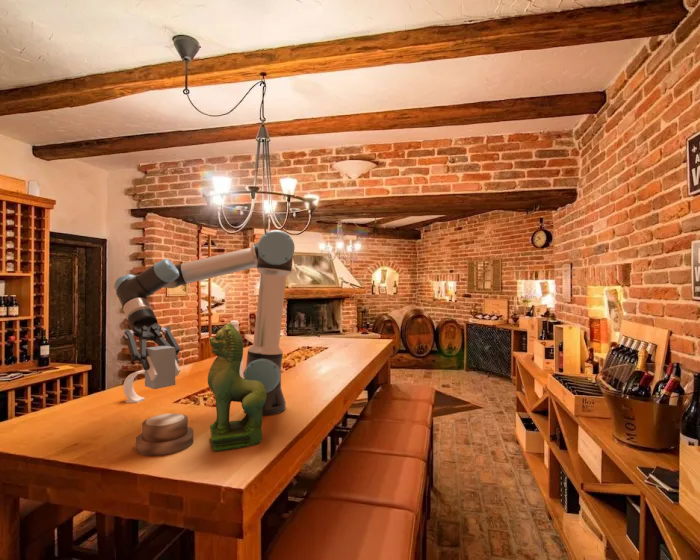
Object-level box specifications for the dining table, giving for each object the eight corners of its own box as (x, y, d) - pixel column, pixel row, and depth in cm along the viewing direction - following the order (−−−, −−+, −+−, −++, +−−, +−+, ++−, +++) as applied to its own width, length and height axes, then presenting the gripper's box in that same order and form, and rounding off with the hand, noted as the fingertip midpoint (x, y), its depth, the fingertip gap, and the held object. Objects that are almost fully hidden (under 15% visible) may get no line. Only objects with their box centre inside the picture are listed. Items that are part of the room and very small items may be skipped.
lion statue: (206, 437, 120) (206, 321, 120) (261, 429, 126) (261, 319, 127) (208, 454, 107) (209, 325, 108) (269, 445, 114) (270, 323, 114)
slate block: (165, 382, 119) (165, 345, 119) (175, 385, 115) (175, 347, 116) (144, 386, 115) (144, 348, 115) (154, 389, 111) (154, 349, 111)
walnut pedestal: (200, 434, 122) (200, 410, 122) (181, 455, 107) (181, 427, 107) (150, 435, 121) (150, 411, 121) (124, 456, 106) (125, 428, 106)
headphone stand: (137, 403, 155) (137, 372, 155) (123, 402, 155) (123, 371, 156) (144, 399, 159) (145, 369, 160) (130, 399, 160) (131, 369, 160)
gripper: (166, 321, 132) (192, 377, 122) (103, 326, 117) (126, 390, 107) (174, 306, 129) (201, 362, 119) (110, 309, 114) (135, 373, 104)
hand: (166, 375), depth 113 cm, fingers closed on slate block, 6 cm apart
